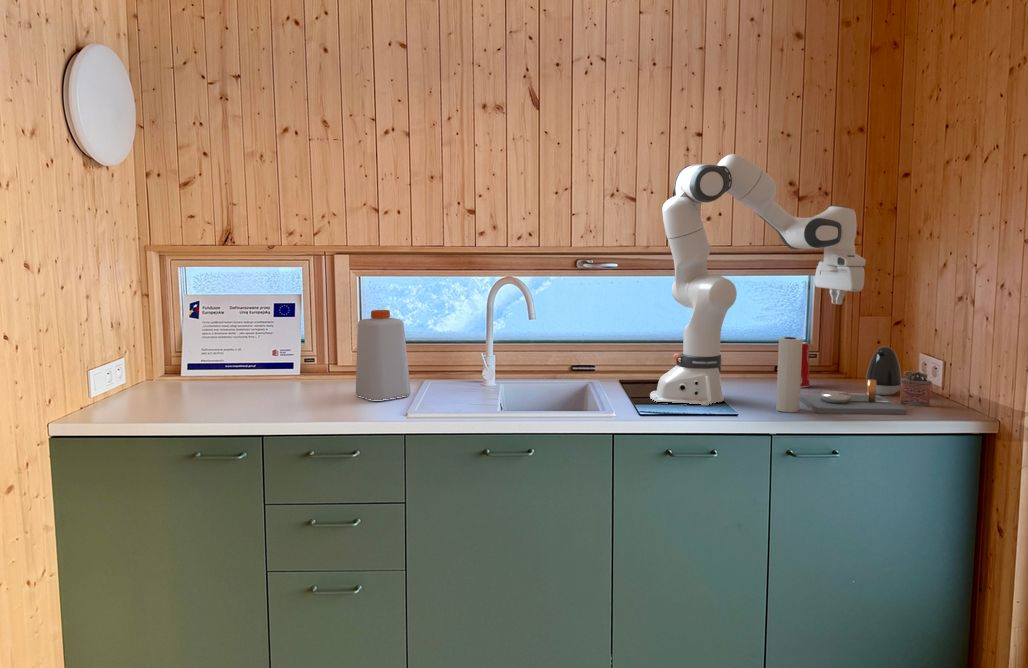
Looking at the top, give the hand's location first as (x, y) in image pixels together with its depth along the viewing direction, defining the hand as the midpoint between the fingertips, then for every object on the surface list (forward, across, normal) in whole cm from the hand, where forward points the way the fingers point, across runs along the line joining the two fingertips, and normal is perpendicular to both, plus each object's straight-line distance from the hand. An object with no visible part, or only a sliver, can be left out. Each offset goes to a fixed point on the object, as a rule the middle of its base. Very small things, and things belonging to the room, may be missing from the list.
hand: (836, 304), depth 223 cm
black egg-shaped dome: (+29, 0, +17) cm, 34 cm away
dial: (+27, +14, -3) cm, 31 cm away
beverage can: (+29, -15, -2) cm, 33 cm away
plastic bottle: (+29, -29, -140) cm, 146 cm away
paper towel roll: (+29, +15, -23) cm, 40 cm away
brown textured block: (+29, +16, +17) cm, 37 cm away
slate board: (+29, +14, -4) cm, 32 cm away
